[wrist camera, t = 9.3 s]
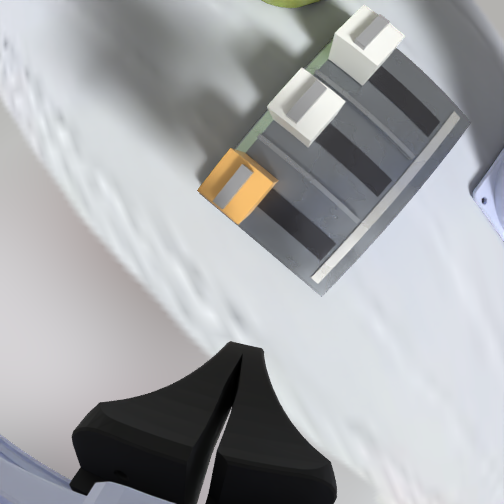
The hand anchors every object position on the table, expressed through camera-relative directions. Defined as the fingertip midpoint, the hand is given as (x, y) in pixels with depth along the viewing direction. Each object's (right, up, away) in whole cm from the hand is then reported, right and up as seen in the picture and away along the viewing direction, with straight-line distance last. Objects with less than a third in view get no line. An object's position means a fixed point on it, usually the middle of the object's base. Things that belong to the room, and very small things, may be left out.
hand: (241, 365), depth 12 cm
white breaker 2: (+7, +16, +4) cm, 18 cm away
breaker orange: (0, +8, +7) cm, 11 cm away
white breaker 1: (+3, +12, +5) cm, 14 cm away
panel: (+6, +11, +7) cm, 14 cm away
